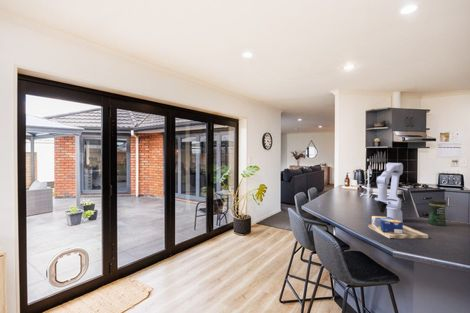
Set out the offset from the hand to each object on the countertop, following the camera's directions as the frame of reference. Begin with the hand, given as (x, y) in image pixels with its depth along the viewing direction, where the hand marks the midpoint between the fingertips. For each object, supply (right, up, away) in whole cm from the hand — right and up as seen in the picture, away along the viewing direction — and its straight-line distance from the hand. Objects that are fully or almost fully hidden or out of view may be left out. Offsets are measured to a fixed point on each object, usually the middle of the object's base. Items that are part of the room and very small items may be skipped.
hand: (382, 212), depth 169 cm
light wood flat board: (+1, -10, -14) cm, 17 cm away
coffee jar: (+43, -10, +5) cm, 44 cm away
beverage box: (-1, -6, 0) cm, 6 cm away
